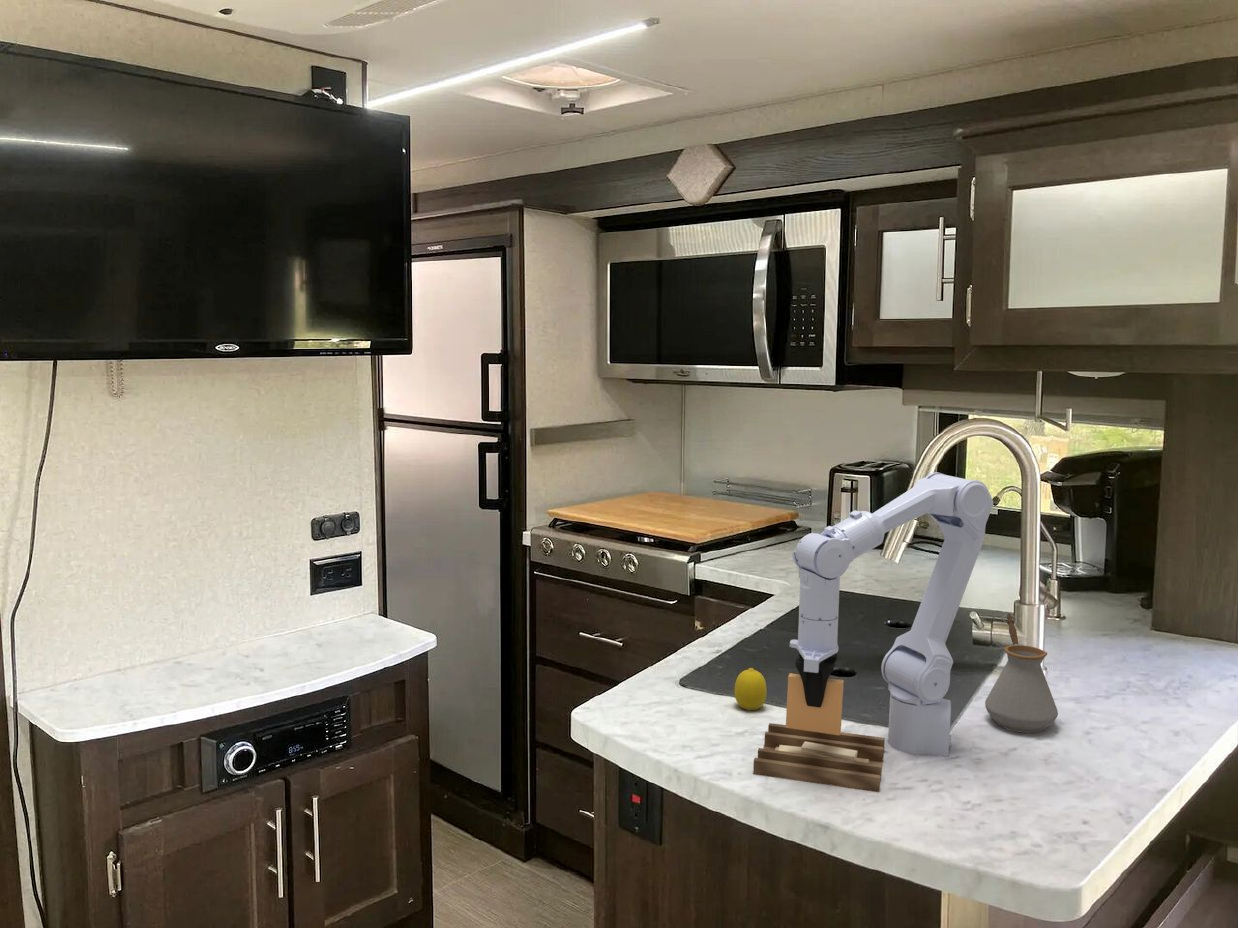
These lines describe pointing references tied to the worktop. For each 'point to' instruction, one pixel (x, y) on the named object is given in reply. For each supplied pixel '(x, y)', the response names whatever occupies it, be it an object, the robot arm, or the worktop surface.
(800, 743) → the rack
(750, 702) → the lemon
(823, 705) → the orange square slab
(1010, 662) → the coffee pot
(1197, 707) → the worktop surface
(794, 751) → the offcut stack
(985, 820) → the worktop surface
